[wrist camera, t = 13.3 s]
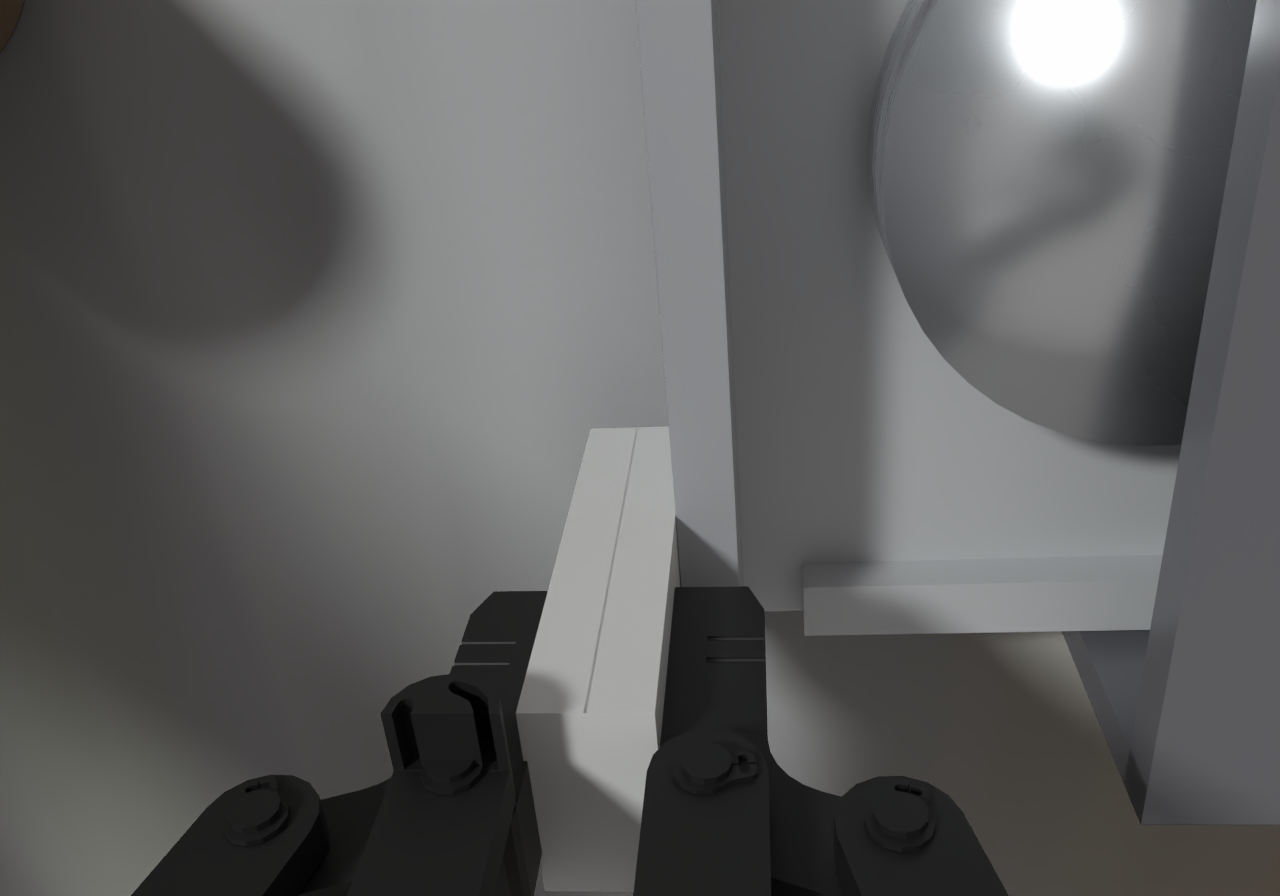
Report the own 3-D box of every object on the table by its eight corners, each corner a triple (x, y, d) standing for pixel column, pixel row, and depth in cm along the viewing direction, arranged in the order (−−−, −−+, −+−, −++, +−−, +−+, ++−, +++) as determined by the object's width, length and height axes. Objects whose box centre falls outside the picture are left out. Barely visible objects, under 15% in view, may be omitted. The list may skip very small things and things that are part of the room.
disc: (808, 348, 17) (816, 393, 16) (965, -268, 13) (995, -282, 12) (1318, 435, 17) (1372, 488, 16) (1621, -146, 13) (1726, -143, 12)
